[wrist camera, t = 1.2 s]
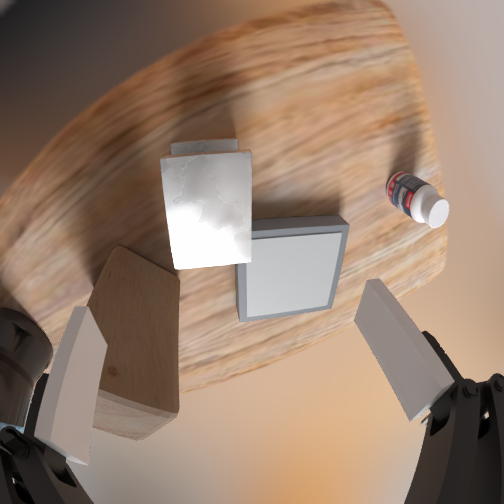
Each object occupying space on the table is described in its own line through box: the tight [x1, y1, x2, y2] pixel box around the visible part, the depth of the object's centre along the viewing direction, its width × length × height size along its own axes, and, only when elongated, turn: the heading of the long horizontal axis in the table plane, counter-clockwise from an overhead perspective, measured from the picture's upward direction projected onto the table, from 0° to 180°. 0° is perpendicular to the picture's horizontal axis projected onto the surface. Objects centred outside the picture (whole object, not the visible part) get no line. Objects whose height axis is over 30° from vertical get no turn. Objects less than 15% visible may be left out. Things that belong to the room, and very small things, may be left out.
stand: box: [235, 215, 349, 322], centre depth 36 cm, size 14×14×3 cm
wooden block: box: [87, 245, 180, 441], centre depth 26 cm, size 10×10×20 cm
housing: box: [160, 138, 252, 269], centre depth 26 cm, size 7×10×9 cm
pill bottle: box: [386, 171, 449, 228], centre depth 31 cm, size 5×5×9 cm
